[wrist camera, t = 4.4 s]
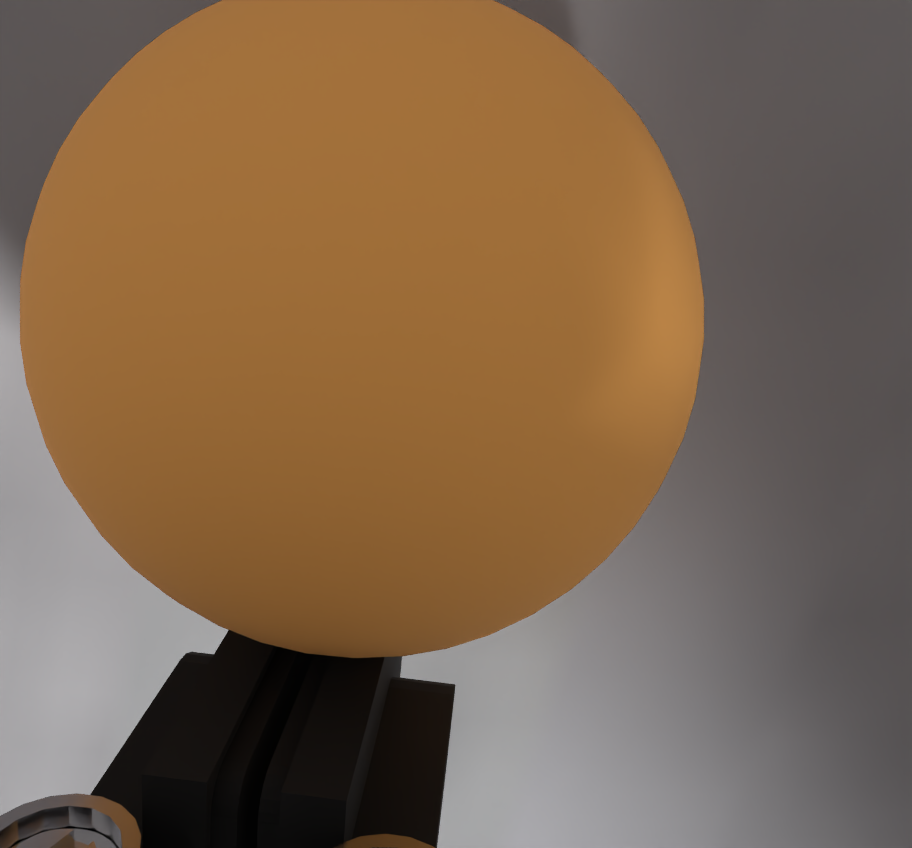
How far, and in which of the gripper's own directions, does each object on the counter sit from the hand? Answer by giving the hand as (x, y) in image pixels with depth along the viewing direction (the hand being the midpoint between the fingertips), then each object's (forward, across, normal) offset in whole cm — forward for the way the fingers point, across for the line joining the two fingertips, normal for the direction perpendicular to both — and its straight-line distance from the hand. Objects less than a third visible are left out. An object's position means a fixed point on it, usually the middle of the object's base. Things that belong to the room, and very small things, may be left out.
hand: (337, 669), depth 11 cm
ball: (-1, 0, -5) cm, 5 cm away
